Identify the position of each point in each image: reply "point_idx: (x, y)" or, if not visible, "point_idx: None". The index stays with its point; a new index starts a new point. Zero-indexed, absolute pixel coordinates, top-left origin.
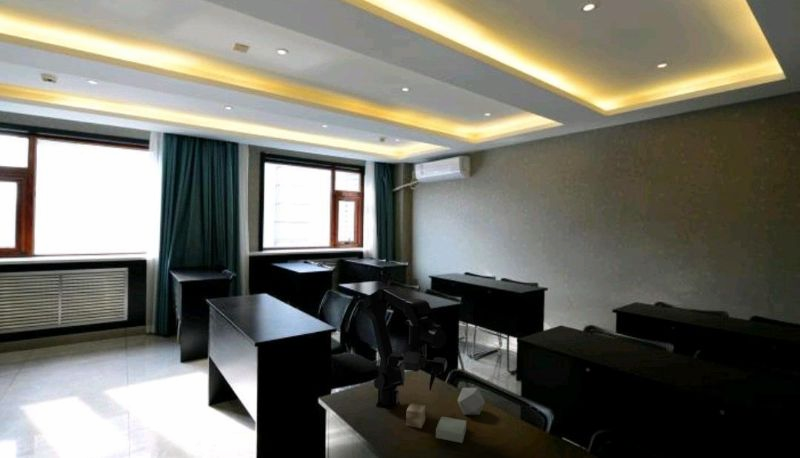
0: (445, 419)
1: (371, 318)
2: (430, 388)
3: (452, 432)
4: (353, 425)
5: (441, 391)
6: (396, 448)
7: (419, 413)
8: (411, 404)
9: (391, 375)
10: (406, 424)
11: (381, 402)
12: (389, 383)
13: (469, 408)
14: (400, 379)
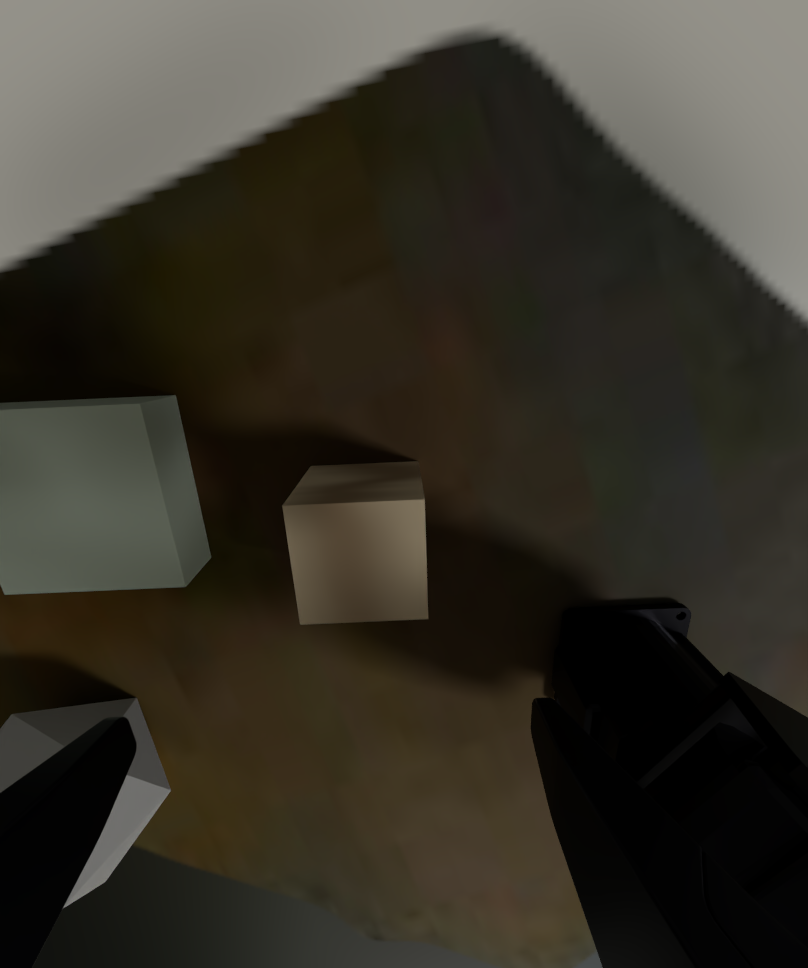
0: (141, 559)
1: None
2: (81, 741)
3: (8, 409)
4: (793, 310)
5: (349, 859)
6: (378, 124)
7: (301, 501)
8: (415, 603)
9: (780, 877)
10: (415, 463)
11: (662, 631)
12: (719, 756)
13: (37, 726)
14: (628, 788)
